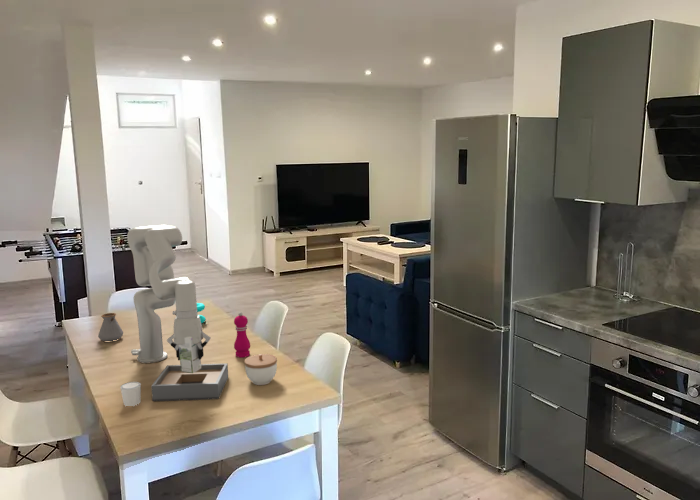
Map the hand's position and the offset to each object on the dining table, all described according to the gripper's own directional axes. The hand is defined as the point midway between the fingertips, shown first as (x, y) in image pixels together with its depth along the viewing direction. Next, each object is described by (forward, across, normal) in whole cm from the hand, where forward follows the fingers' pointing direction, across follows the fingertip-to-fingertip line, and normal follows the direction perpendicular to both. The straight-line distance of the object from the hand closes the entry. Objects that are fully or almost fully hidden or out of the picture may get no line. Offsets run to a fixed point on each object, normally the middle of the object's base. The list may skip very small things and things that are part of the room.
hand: (190, 358), depth 208 cm
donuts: (+12, -19, +88) cm, 91 cm away
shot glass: (+13, -19, -11) cm, 25 cm away
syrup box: (+5, 0, 0) cm, 5 cm away
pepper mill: (+12, +14, +35) cm, 40 cm away
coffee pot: (+12, -53, +59) cm, 80 cm away
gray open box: (+12, 0, 0) cm, 12 cm away
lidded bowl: (+13, +26, +5) cm, 29 cm away
